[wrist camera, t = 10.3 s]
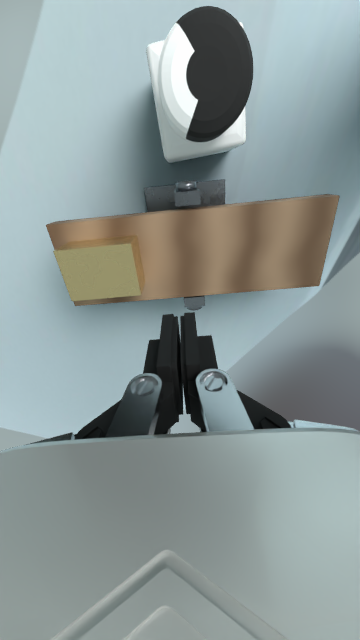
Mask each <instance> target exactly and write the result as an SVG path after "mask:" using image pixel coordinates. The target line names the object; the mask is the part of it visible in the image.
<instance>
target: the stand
mask: <svg viewBox="0 0 360 640" xmlns="http://www.w3.org/2000/svg"><path fill="white" fill-rule="evenodd" d="M144 190H145V197H146V204H147V210H148V212H156V211H166V210H176V209H186V208H196V207H206V206H216V205H225V179H223V180H213V181H204V182H196V180H191V181H182V182H176V184H175V185H166V186H157V187H147V188H144ZM184 303H185V307H187V309H189V310H198V309H201V308H202V306H205V298H204V295H202V296H190V297H184Z"/></svg>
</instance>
